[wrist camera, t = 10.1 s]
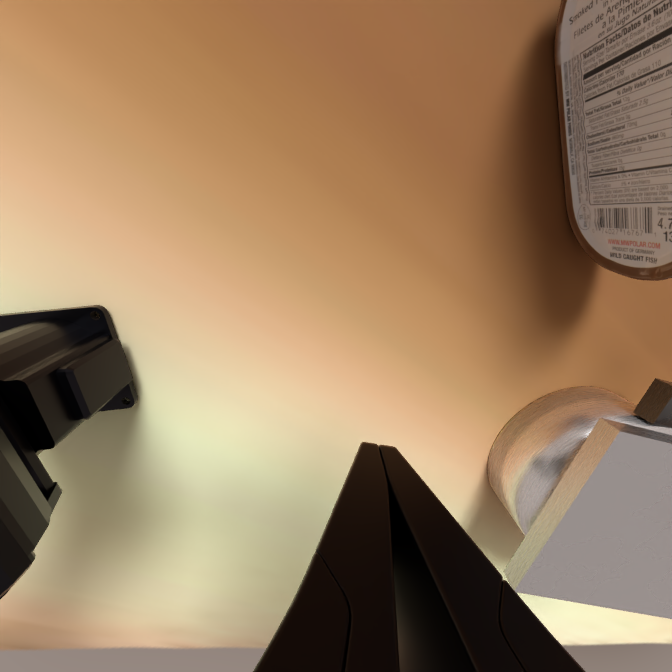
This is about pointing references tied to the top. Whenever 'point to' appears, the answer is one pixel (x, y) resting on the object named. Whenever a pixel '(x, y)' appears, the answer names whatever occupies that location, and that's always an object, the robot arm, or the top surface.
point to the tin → (618, 131)
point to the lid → (605, 526)
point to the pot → (561, 441)
